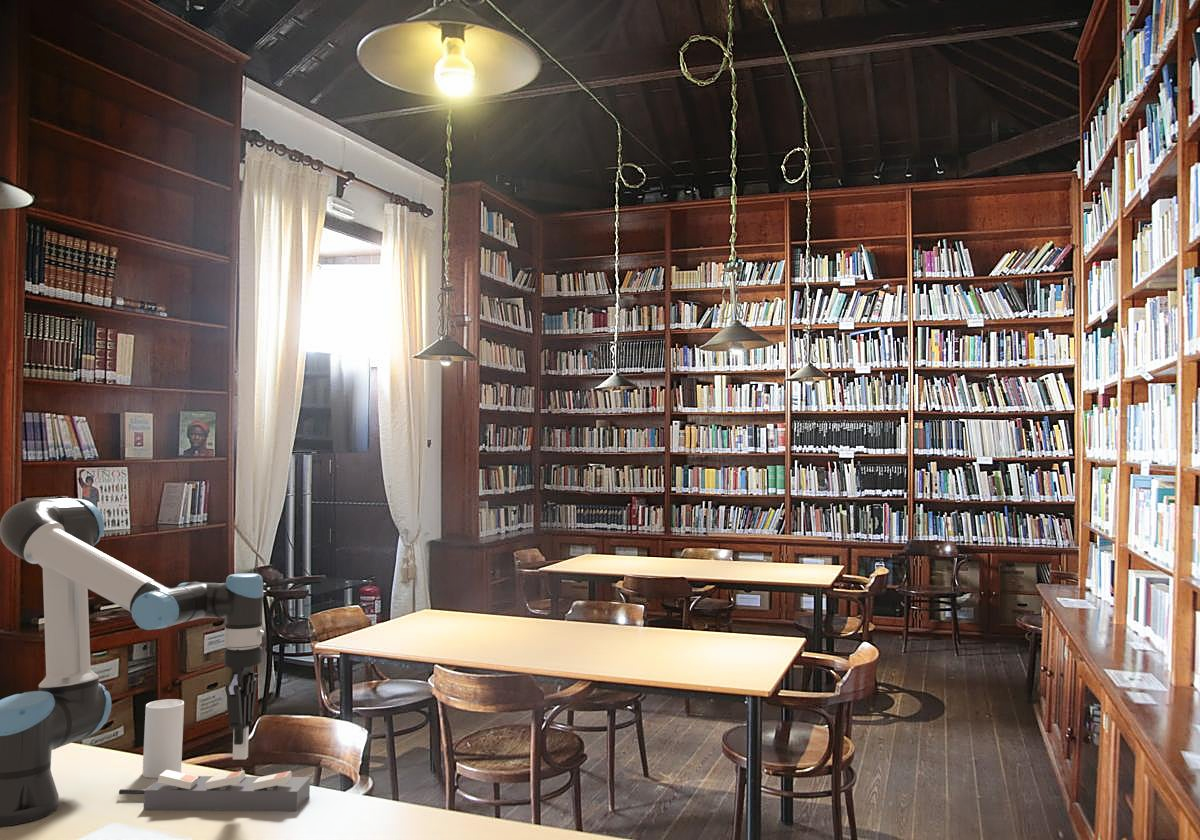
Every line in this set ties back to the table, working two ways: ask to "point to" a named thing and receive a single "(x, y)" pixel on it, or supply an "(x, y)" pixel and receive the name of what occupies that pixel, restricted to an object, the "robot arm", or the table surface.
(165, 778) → the block
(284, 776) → the block
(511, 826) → the table surface
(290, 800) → the strip
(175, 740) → the cup
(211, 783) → the block
